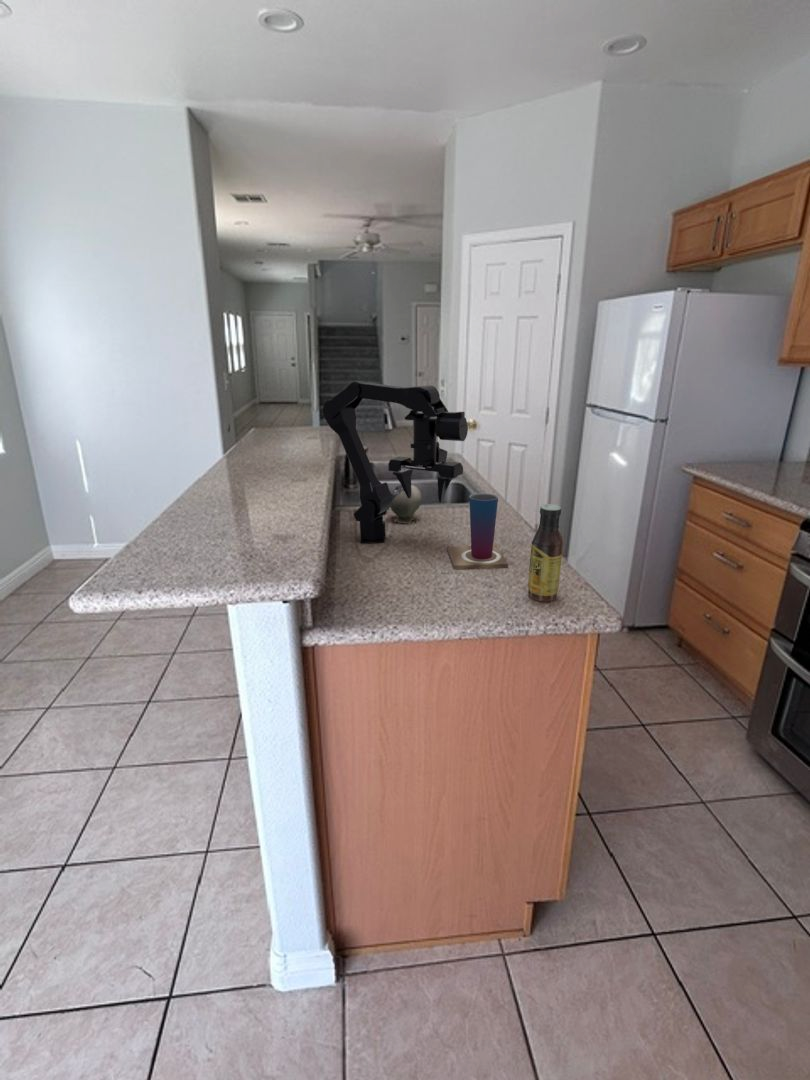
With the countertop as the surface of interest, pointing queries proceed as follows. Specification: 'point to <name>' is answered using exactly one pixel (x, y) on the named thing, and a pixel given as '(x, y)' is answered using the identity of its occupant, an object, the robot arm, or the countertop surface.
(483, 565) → the board
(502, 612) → the countertop surface
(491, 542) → the cup
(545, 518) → the sauce bottle
